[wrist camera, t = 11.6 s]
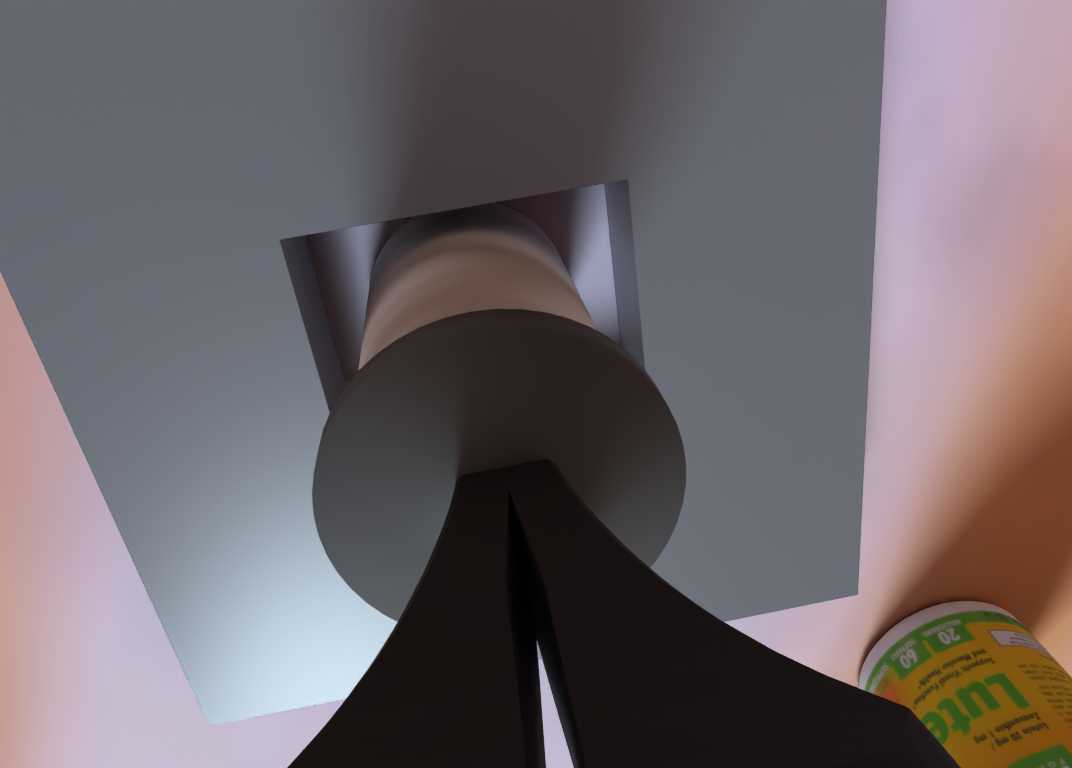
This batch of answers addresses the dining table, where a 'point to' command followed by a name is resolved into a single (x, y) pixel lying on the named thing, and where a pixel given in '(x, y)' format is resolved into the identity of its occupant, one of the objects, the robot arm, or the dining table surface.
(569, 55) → the socket block
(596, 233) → the dining table surface
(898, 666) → the supplement bottle
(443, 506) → the capped peg
